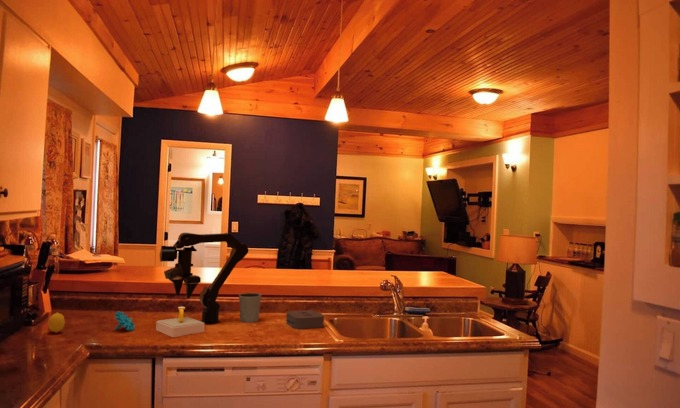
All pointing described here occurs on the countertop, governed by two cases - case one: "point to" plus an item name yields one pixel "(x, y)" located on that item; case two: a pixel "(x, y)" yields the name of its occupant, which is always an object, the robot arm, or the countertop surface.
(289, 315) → the streaming box
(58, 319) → the lemon
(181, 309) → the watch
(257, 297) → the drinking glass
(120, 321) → the teal lumpy piece
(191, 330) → the stand
